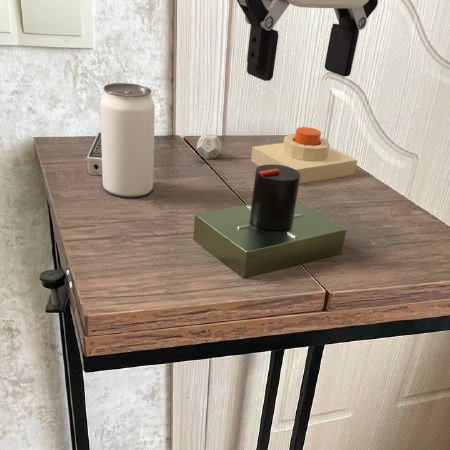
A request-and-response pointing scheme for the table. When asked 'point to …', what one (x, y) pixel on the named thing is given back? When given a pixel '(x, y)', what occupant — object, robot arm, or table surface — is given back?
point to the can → (127, 139)
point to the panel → (267, 239)
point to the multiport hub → (95, 157)
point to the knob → (274, 197)
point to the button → (307, 136)
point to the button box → (306, 159)
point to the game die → (209, 146)
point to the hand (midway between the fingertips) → (299, 75)
